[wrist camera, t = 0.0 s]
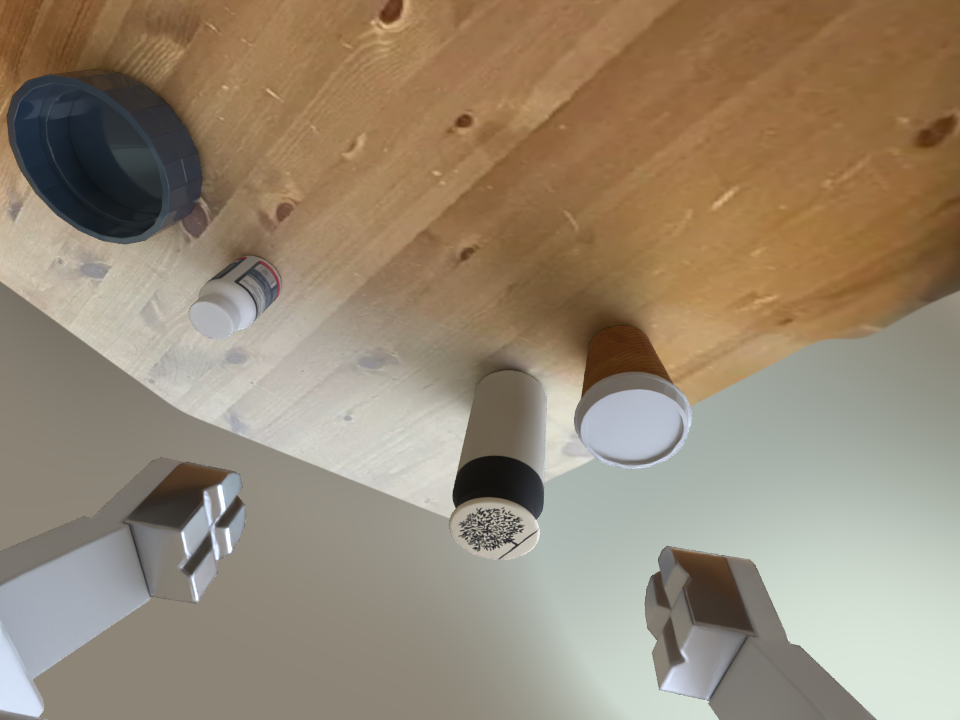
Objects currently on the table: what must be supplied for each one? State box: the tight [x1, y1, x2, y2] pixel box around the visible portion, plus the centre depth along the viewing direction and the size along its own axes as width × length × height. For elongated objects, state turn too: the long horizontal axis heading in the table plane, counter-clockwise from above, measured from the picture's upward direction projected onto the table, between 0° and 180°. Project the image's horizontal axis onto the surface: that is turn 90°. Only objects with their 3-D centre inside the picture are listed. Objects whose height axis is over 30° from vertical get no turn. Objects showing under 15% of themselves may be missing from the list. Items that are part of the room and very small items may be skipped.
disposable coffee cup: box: [574, 326, 692, 469], centre depth 47 cm, size 10×10×12 cm
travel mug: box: [449, 370, 547, 560], centre depth 50 cm, size 8×8×18 cm
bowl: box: [7, 69, 202, 244], centre depth 45 cm, size 13×13×6 cm
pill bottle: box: [189, 256, 282, 340], centre depth 49 cm, size 5×5×9 cm
